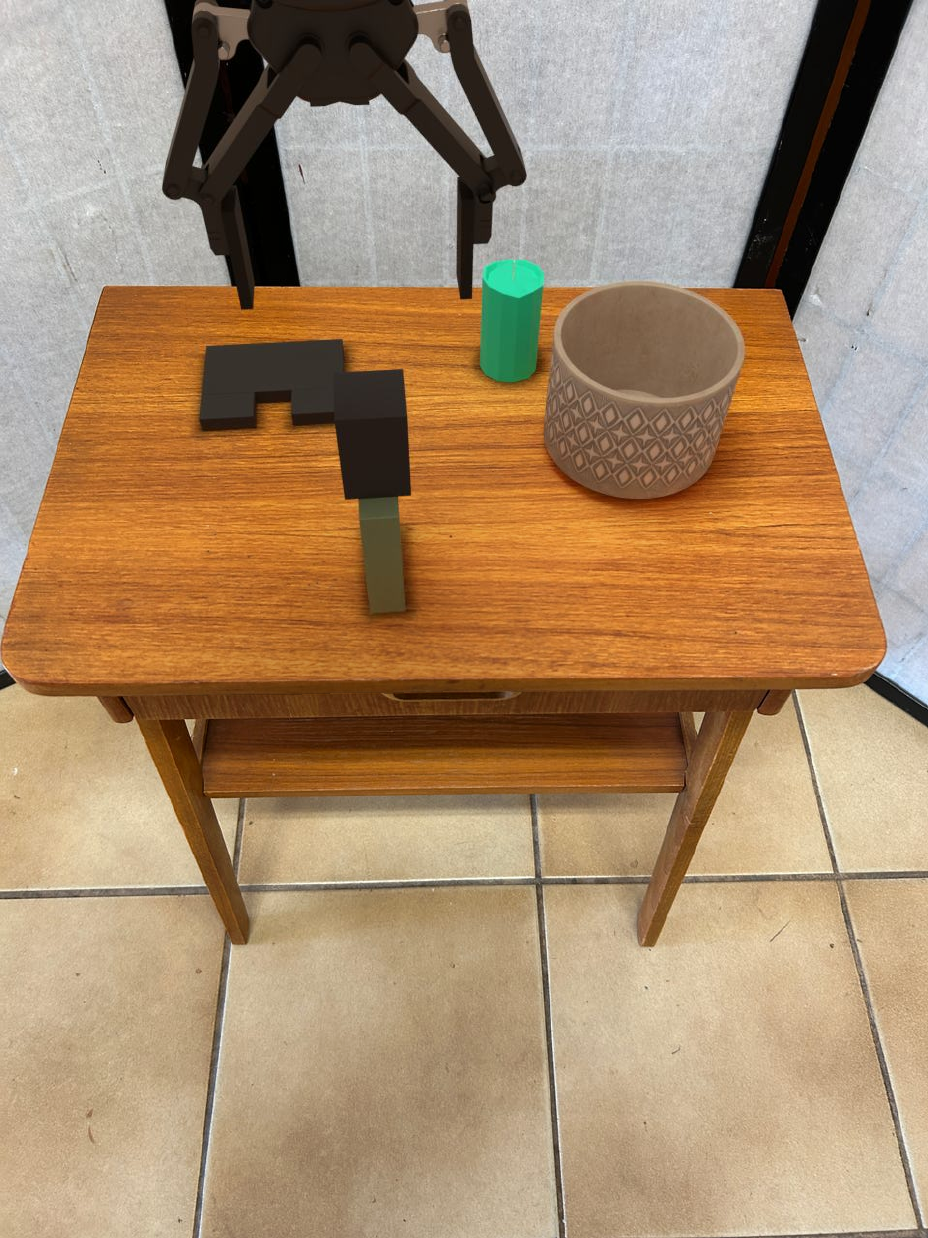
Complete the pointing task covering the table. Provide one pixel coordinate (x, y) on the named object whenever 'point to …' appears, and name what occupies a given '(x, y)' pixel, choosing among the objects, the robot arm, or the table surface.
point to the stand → (382, 553)
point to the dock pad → (269, 381)
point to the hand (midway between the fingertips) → (356, 291)
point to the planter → (640, 387)
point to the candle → (510, 319)
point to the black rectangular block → (372, 433)
